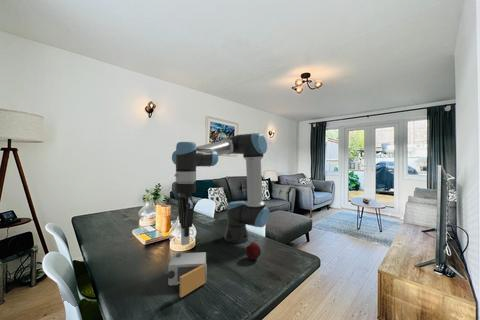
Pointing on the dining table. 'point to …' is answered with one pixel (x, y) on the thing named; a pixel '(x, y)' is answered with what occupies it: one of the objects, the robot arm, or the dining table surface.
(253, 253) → the apple
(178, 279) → the small grey cabinet
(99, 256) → the dining table surface
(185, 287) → the side door
